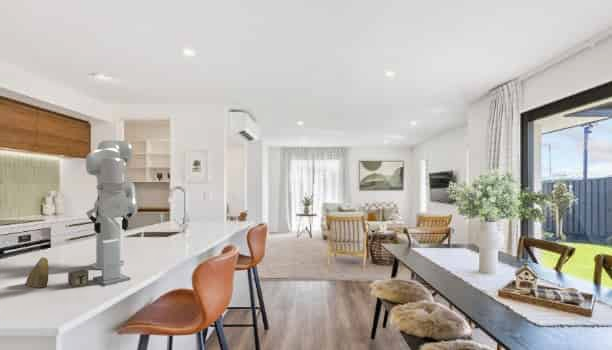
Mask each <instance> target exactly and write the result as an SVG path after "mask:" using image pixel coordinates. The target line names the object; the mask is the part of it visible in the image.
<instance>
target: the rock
mask: <svg viewBox="0 0 612 350" xmlns="http://www.w3.org/2000/svg"><path fill="white" fill-rule="evenodd" d="M48 261H49V260H48V258H46V257H41V258H40V259H39V260H38V261H37V262H36V264H35V265H34V267H33V268H32V269H31V271H30V272H29V275H28V276H27V278H26V281H25V283H24V285H26V286H27V287H30V288H31V287H33V288H46V287H47V286H48V283H49V262H48Z"/></svg>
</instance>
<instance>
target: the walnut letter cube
mask: <svg viewBox="0 0 612 350" xmlns="http://www.w3.org/2000/svg"><path fill="white" fill-rule="evenodd" d="M67 278H68V279H67V286H69V285H70V286H69V287H71V286H72V287H71V288H76V287H75V286H78V287H81V286H80V285H82V286H85V285H84V284H86V285H89V270H87V269H84V268H81V269H76V270H72V271H68V274H67Z"/></svg>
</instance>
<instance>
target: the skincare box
mask: <svg viewBox="0 0 612 350" xmlns="http://www.w3.org/2000/svg"><path fill="white" fill-rule="evenodd" d="M120 260H121V239H120V240H118V239H117V238H116V239H108V240H101V261H102V269H101V276H102V277H103V279H104V281H106V280H112V279H119V278H121V274H122V273H121V266H120Z"/></svg>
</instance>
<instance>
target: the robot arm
mask: <svg viewBox="0 0 612 350" xmlns="http://www.w3.org/2000/svg"><path fill="white" fill-rule="evenodd" d="M133 151H134V150H133V146H132V144H131V143H130V142H129V141H128V140H115V139H112V140H111V139H108V140H107V139H106V140H102V141H101V142H99V144H98V145H97V149H96V150H93V151H91V152H89V153H87V155H86V158H85V171H86V173H88V175H89V176H95V177H96V186H95V187H96V190H97V191H96V193H97V198H96V200H95V201H94V204H93V208H92V209H90V210H88V211H86V212H85V214H86V216H87V217H88V220H90V221H92V223H93V227H94V228H93V230H94V232H95V233H96V240H95V241H96V244H95V245H96V246H95V247H96V249H95V251H96V252H95V253H96V256H95V257H96V259H95V261H96V262H95V263H93V264H92V265H91V268H92V269H93V270H102V261H101V240H108V239H116V238H117V239H118V240H120V241H121V230H124V231H127V230H128V227H129V220H130V218H131V217H134V216H135V215H136V214H137V213H138V211H139V210H138V209H139V207H138V198H137V190H136V186H135V184H134V182H133V181H129V180H124V178H123V177H124V175H123V174H124V173H125V172H126V171H127V168H128V167H130V166H131V161H132V158H133V155H134V154H133V153H134V152H133ZM93 214H94V215H93ZM115 218H117V219H118V218H122V220H121V225H120V224H119V223H118V221H116V220H115ZM123 265H125V261H124V260H122V259H120V267H122V266H123Z"/></svg>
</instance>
